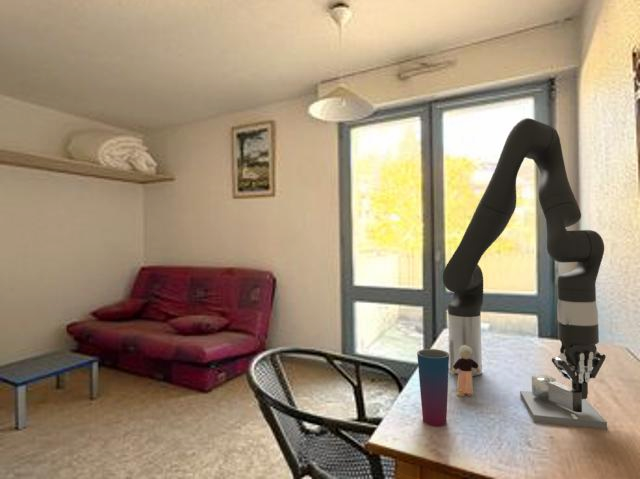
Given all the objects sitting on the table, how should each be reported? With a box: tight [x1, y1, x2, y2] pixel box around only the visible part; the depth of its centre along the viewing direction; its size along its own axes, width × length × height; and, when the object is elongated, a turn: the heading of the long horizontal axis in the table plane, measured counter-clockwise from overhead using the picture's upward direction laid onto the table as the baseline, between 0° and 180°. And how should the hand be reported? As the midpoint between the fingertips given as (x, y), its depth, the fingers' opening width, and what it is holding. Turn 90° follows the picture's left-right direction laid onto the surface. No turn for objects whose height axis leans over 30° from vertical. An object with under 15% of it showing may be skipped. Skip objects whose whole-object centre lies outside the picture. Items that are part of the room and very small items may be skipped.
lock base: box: [519, 390, 608, 430], centre depth 88 cm, size 14×14×2 cm
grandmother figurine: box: [450, 345, 480, 397], centre depth 99 cm, size 8×4×13 cm, turn 105°
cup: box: [416, 348, 450, 427], centre depth 85 cm, size 7×7×15 cm
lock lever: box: [531, 374, 582, 412], centre depth 88 cm, size 12×5×4 cm, turn 15°
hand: (580, 397), depth 85 cm, fingers closed
